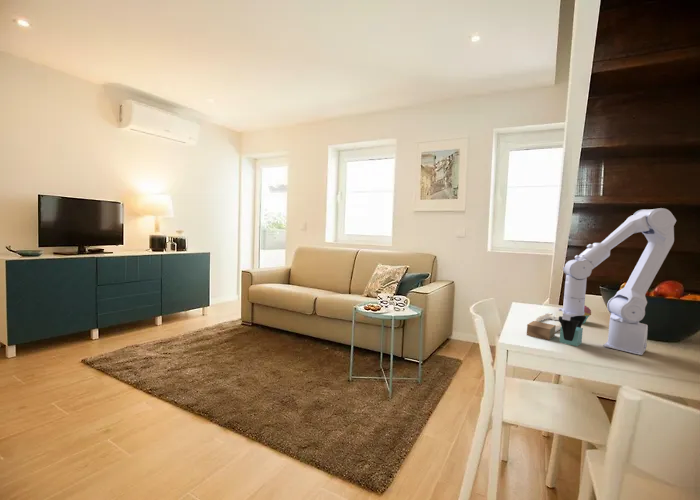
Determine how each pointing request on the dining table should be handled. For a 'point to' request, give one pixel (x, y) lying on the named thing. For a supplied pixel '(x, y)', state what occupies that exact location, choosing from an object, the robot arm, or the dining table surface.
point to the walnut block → (541, 330)
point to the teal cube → (576, 339)
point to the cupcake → (586, 313)
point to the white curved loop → (550, 316)
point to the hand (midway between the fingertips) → (570, 338)
